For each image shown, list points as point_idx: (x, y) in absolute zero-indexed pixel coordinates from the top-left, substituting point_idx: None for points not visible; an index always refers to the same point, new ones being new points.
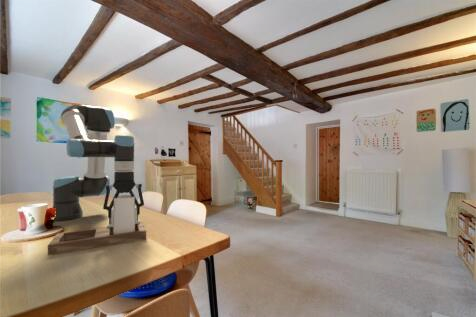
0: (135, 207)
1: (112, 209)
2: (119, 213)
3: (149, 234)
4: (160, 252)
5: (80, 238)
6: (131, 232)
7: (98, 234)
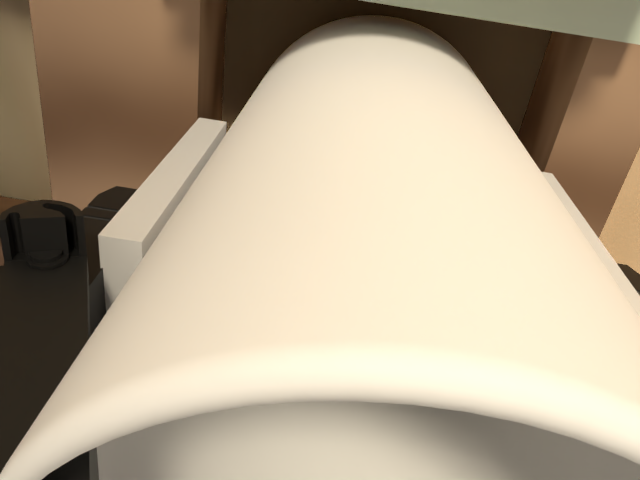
0: None
1: (121, 269)
2: (256, 421)
3: (612, 207)
4: None
5: None
6: None
7: (86, 189)
